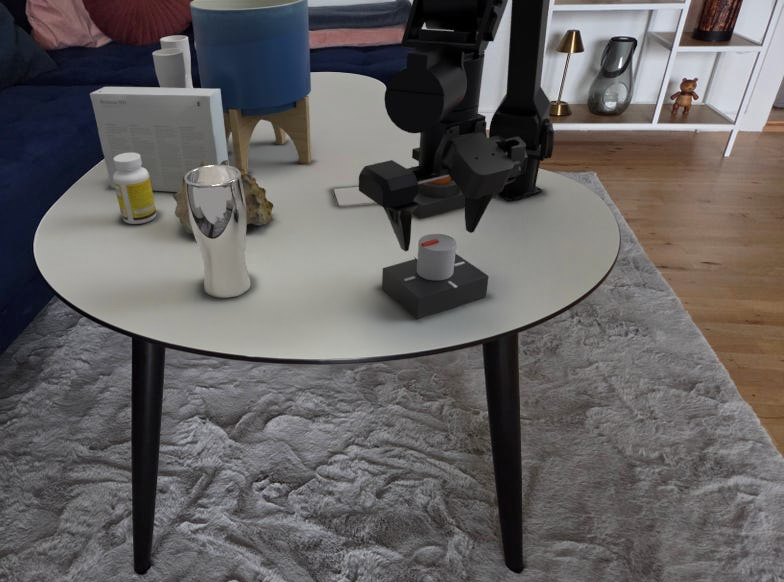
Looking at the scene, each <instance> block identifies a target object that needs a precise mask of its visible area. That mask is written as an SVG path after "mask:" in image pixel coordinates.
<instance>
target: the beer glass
mask: <svg viewBox="0 0 784 582" xmlns="http://www.w3.org/2000/svg"><path fill="white" fill-rule="evenodd" d="M184 179H185V186H186V199H187V207H188V214H189V219H190V223H191V227H192V230H193V233H194V234H193V233H192V234H193V236H194V239H195V241H196V242H195V243H196V244H197V247H198V250H199V252H200V256H201V259H202V263H203V272H204V274H203V288H204V291H205V293H206V294H208V295H210V296H211V297H214V298H218V299H229V298H235V297H239V296H242V294H245V293H246V292H247V291H248V290H250V287H251V284H252V281H251V277H250V273H249V270H248V268H247V263H246V241H247V225H248V224H247V212H246V201H245V195H244V189H243V184H242V179H241V172H240V170H239V169H238V168H236V167H235V166H233V165H230V164H229V165H207V166H202V167H198V168H195V169H193V170H191V171H189V172H188V173H187V174H186V175H185V178H184Z"/></svg>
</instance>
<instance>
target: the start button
mask: <svg viewBox="0 0 784 582" xmlns="http://www.w3.org/2000/svg"><path fill="white" fill-rule="evenodd" d="M449 182H451V177H448V178H444V179H440V180H436V181H432V182H431V183H436V184H445V183H449Z"/></svg>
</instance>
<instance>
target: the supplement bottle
mask: <svg viewBox="0 0 784 582" xmlns="http://www.w3.org/2000/svg"><path fill="white" fill-rule="evenodd" d="M114 164H115V168H116V169H117V171H116V172H115V173H114V175H113V181H114V185H115V188H114V189H115V194H116V197H117V201H118V205H119V211H120V214H121V218H122V220H123V222H124V223H127V224H130V225H140V224H145V223H148V222H151V221H153V220H154V219H155V218H156V216H157V207H156V203H155V198H154V191H152V187H151V182H150V177H149V174H148V171H147V170H146V169H145V168H143V167H141V165H142V161H141V157H140V155H139V154H138V153H123V154H119V155H117V156H115V157H114Z"/></svg>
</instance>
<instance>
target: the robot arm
mask: <svg viewBox="0 0 784 582" xmlns="http://www.w3.org/2000/svg"><path fill="white" fill-rule="evenodd" d="M508 2H509V0H412V3H411V6H410V10H409V13H408V17H407V19H406V25H405V28H404V31H403V35H402V37H401V41H400V42H401V43H400V44H401V45H400V46H401V48H403V49H411V50H410V51H408V52H407V54H406V65H405V67H403V68H402V69H400V70H398V71H397V72H396V73H394V75H393V76H392V77H391V79H390V80H389V82H388V83H387V87H386V90H385V91H384V97H383V98H384V99H383V100H384V108H385V110H386V113H387V115H388V118H389V119H390V121H391V122H392V123H393V124H394V126H396V127H397V128H398V129H400V130H401V131H404V132H406V133H409V134H420V136H419V147H415V148H412V151H411V158H412V159H413V160H415V161H416V162H418V165H416V166H411V167H408V168H407V167H405V166H403V165H401V164H400V163H398V162H396V161H394V160H393V159H391V160H386V161H381V162H377V163H372V164H368V165H364V167H363V168H362V170H360V173H359V175H358V186H359V191H360V192H362V193H363V194H364V195H366V196H367V197H369V198H370V199H372V200H373V201H374V202H376V203H377V205H379V206H380V207H382V208H383V210H384V212H385V213H386V216H387V218H388V220H389V222H390V225H391V227H392V230H393V232H394V234H395V238H396V239H397V242H398V245H399V247H400V248H401V250H402V251H404V252H409V250H410V245H411V239H412V238H411V237H412V218H413V213H412V212H413V211H414V210H415V209H416V208H417V206H418V205H419V203H417V202H416V201H414V198H415V197H416V196H417V194H418V185H420V184H424V183H428V182H432V181H436V180H440V179H444V178H448V177H451V178H452V180H453V181H454V182H455V183H456V184H457V186H458V187H459V188H460V190H461V193H462V194H463V195H464V196H465V207H464V224H465V230H466V231H467V232H468V233H470V234H472V233H474V232H475V231H476V229H477V227H478V225H479V223H480V221H481V220H482V217H483V215H484V213H485V212H486V210H487V208H488V207H489V204H490V202H491V200H493V197H494V196H495V195H498V196H499V197H502V198H503V199H506V200H507V201H511V202H512V201H516V200H517V201H518V200H520V199H523V198H527V197H531V196H534V195H535V196H536V195H539V194H542V193H543V189H542V188H541V187H539V186H536V185H537V181H538V175H539V169H540V164H541V162H544V160H546V159H551V158H552V157H553V153H554V152H553V151H554V146H555V130H554V125H553V119H552V118H550V115H551V114H550V113H551V100H549V98H548V96H547V94H546V93H545V91H544V90H543V88H542V77H543V67H544V66H543V65H544V56H545V47H546V38H547V27H548V21H549V19H548V18H549V8H550V0H511V9H510V10H511V11H510V12H511V13H510V27H509V43H508V58H507V59H508V60H507V75H506V76H507V78H506V93H505V94H504V96H503V98H502V99H501V101H500V103H499V105H498V106H497V108H496V110H495V112H494V113H493V114H492V117H491V120H490V123H489V130H488V136H487V121H486V119H487V117H486V115H483V114H481V113H479V107H480V98H481V89H482V81H483V73H484V65H485V51H486V50H487V48H488V46H489V43H490V42H494V41H495V39H496V36H497V33H498V30H499V28H500V25H501V22H502V19H503V16H504V14H505V10H506V7H507V5H508ZM424 25H425V28H423V27H424Z"/></svg>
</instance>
